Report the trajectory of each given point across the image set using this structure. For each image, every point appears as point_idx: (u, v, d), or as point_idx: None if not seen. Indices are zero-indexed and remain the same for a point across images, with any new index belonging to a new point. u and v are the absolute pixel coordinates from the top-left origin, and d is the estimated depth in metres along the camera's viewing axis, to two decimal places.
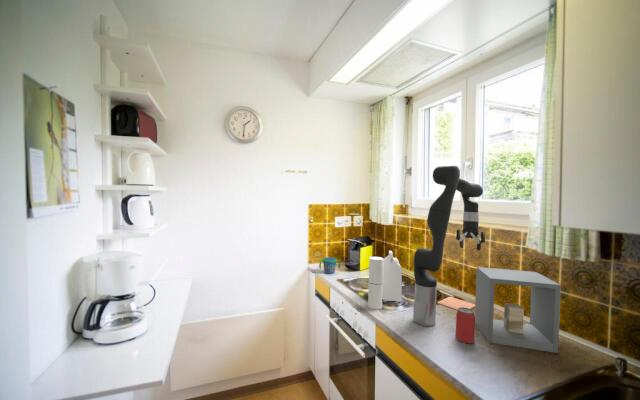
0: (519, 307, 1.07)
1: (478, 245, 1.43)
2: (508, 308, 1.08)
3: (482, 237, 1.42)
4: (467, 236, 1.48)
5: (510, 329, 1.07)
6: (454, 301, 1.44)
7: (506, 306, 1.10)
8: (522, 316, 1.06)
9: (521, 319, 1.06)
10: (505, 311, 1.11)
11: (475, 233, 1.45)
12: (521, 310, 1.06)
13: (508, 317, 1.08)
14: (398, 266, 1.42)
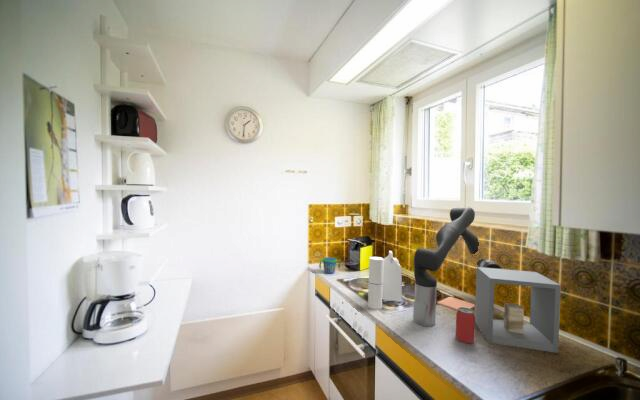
0: (519, 307, 1.07)
1: None
2: (508, 308, 1.08)
3: None
4: None
5: (510, 329, 1.07)
6: (454, 301, 1.44)
7: (506, 306, 1.10)
8: (522, 316, 1.06)
9: (521, 319, 1.06)
10: (505, 311, 1.11)
11: None
12: (521, 310, 1.06)
13: (508, 317, 1.08)
14: (398, 266, 1.42)
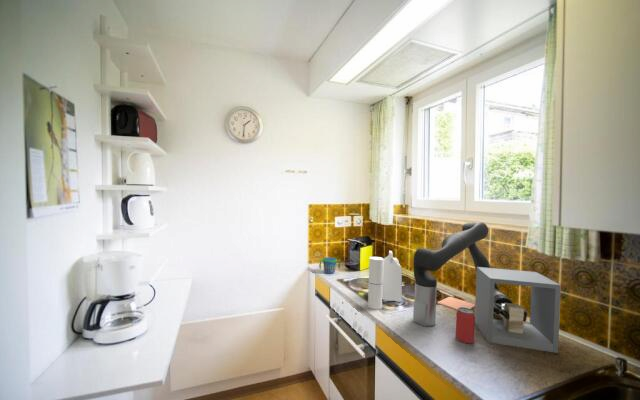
0: (519, 307, 1.07)
1: None
2: (508, 308, 1.08)
3: (524, 309, 1.12)
4: None
5: (510, 329, 1.07)
6: (454, 301, 1.44)
7: (506, 306, 1.10)
8: (522, 316, 1.06)
9: (521, 319, 1.06)
10: None
11: None
12: (521, 310, 1.06)
13: None
14: (398, 266, 1.42)
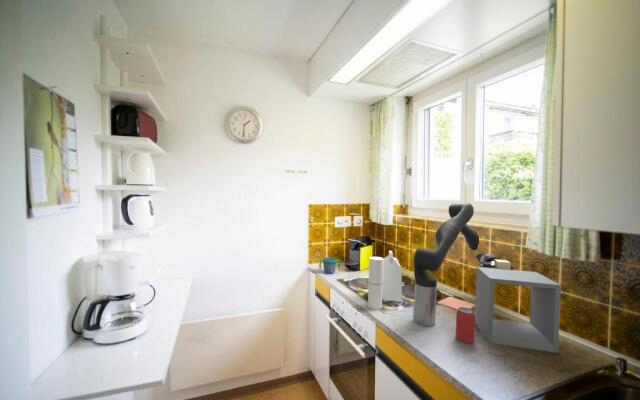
0: (506, 261, 1.21)
1: None
2: (497, 262, 1.21)
3: (511, 265, 1.25)
4: None
5: None
6: (454, 301, 1.44)
7: (495, 261, 1.23)
8: (509, 269, 1.19)
9: None
10: None
11: None
12: (508, 263, 1.19)
13: None
14: (398, 266, 1.42)
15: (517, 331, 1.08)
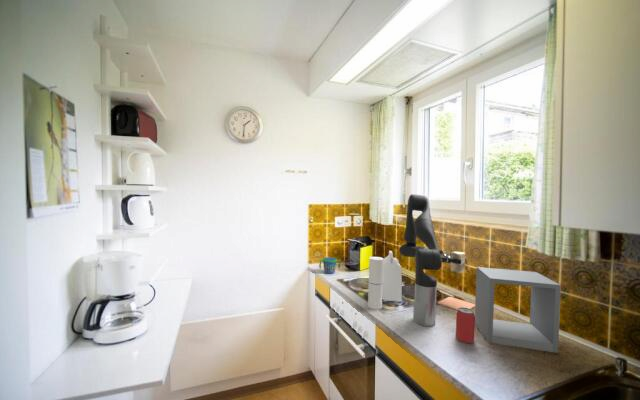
0: None
1: None
2: (459, 255, 1.37)
3: None
4: (447, 256, 1.44)
5: (460, 271, 1.37)
6: (454, 301, 1.44)
7: (455, 254, 1.39)
8: (464, 258, 1.40)
9: (464, 261, 1.40)
10: None
11: None
12: (464, 254, 1.39)
13: None
14: (398, 266, 1.42)
15: (517, 331, 1.08)
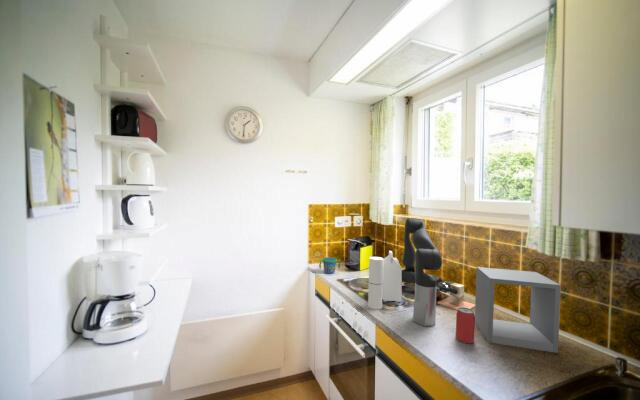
0: (460, 285, 1.41)
1: None
2: (457, 288, 1.38)
3: (452, 282, 1.49)
4: (446, 285, 1.44)
5: (459, 304, 1.38)
6: None
7: (454, 287, 1.39)
8: (463, 291, 1.40)
9: (463, 293, 1.40)
10: None
11: None
12: (463, 287, 1.40)
13: (459, 295, 1.37)
14: (398, 266, 1.42)
15: (517, 331, 1.08)
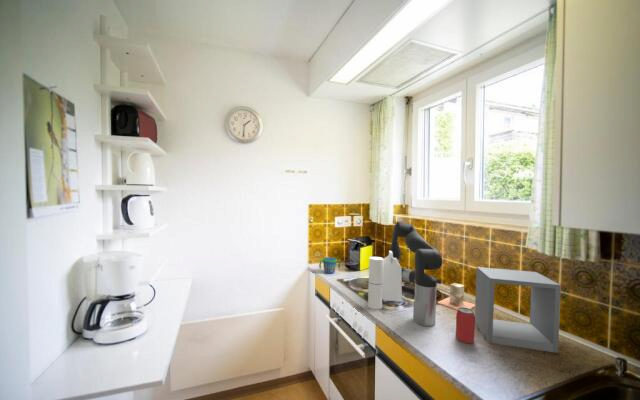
0: (460, 285, 1.41)
1: (436, 279, 1.54)
2: (457, 288, 1.38)
3: (431, 276, 1.59)
4: None
5: (459, 304, 1.38)
6: None
7: (454, 287, 1.39)
8: (463, 291, 1.40)
9: (463, 293, 1.40)
10: (452, 291, 1.40)
11: None
12: (463, 287, 1.40)
13: (459, 295, 1.37)
14: (398, 266, 1.42)
15: (517, 331, 1.08)
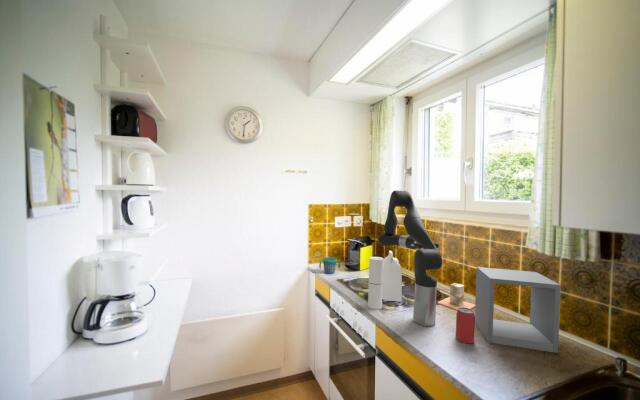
0: (460, 285, 1.41)
1: None
2: (457, 288, 1.38)
3: None
4: None
5: (459, 304, 1.38)
6: None
7: (454, 287, 1.39)
8: (463, 291, 1.40)
9: (463, 293, 1.40)
10: (452, 291, 1.40)
11: None
12: (463, 287, 1.40)
13: (459, 295, 1.37)
14: (398, 266, 1.42)
15: (517, 331, 1.08)
